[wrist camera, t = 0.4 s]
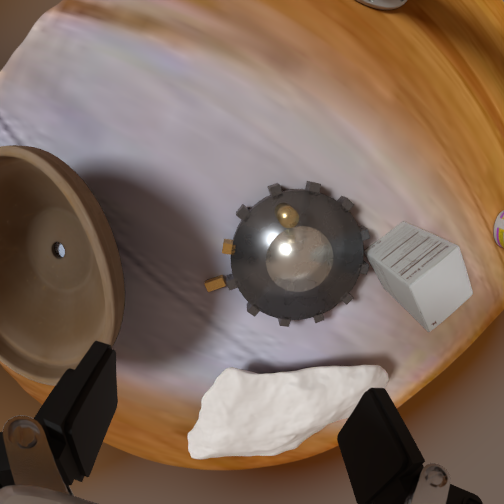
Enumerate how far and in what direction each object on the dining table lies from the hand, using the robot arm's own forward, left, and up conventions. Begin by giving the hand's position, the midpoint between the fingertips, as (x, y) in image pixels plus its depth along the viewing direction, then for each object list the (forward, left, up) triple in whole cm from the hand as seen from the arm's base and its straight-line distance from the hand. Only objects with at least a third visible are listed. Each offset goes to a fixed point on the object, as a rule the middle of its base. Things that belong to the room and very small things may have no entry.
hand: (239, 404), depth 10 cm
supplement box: (-18, +11, -28) cm, 35 cm away
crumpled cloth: (+5, +27, -28) cm, 39 cm away
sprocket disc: (-5, +5, -28) cm, 29 cm away
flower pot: (+25, -7, -28) cm, 38 cm away
